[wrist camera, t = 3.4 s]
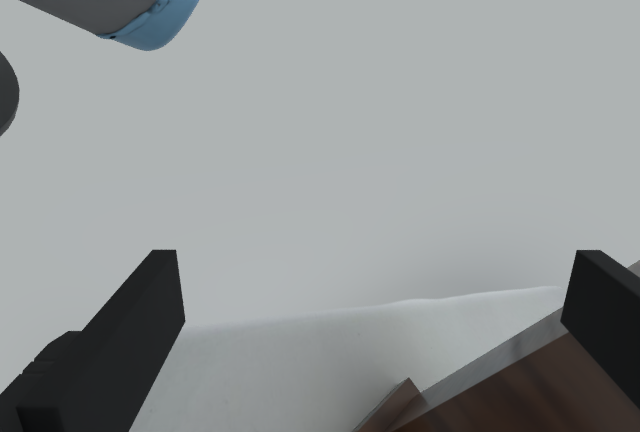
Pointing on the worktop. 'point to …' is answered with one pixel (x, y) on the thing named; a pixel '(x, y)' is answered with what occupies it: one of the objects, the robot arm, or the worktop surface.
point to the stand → (515, 391)
